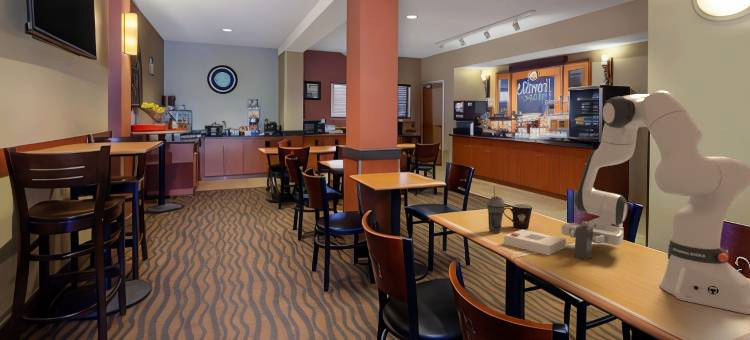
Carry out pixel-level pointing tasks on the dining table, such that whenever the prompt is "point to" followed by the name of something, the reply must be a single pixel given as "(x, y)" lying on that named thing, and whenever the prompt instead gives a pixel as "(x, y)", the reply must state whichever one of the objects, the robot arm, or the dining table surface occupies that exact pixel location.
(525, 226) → the coffee mug
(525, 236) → the flat white box
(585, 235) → the dark grey bottle
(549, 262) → the dining table surface
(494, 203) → the beverage cup
